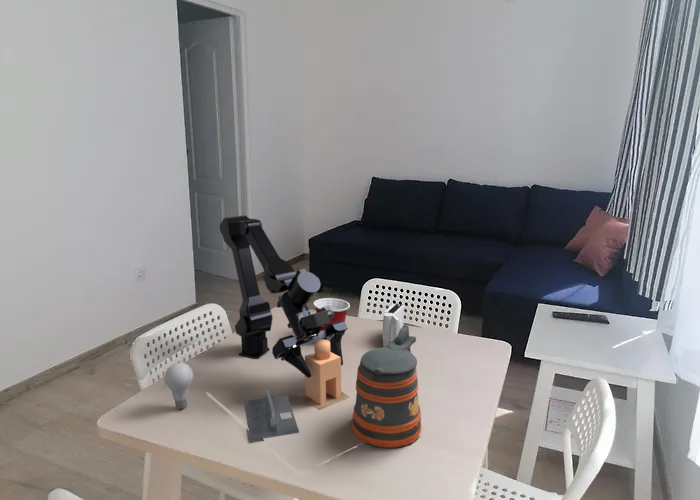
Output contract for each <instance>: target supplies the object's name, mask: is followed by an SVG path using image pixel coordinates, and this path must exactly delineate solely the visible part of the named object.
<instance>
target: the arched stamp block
mask: <svg viewBox="0 0 700 500" xmlns="http://www.w3.org/2000/svg"><path fill="white" fill-rule="evenodd" d="M304 360H305V362H306V364H307V366H308V368H309V370H310V373H311V377H310V378H308V377H307V376H305V375H304V379H305V382H304V384H305V391H306V395H307V396H308V397H310V398H311V399H313V400H314V401H315V402H317V403H318V404H320V405H322V404H325V403H326V392H327V393H328V394H330V395H331V396H333V397H335V398H336V399H337V398H339V397H341V392H342V366H341V357H339V356H337V355H336V354H334V353H332V352H330V341H328V340H322V339H321V340H317V341H314V352H313V353H310V354H307V355H304Z"/></svg>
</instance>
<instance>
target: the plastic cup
mask: <svg viewBox="0 0 700 500" xmlns="http://www.w3.org/2000/svg"><path fill="white" fill-rule="evenodd" d="M329 305H330V307H331V308H332V310H333V312H334V318H332V319H330V323H333V322H337V321H340V320H341V321H343V322H344V323H345V324H346V317H347V313H348V311H349V309H350V307H351V305H350V303H349V302H348V301H346V300H343V299H340V298H336V297H335V298H333V297H325V298H318V299H316V300H314V301H313V306H314V307H315V313H319V312H321V308H322V307H326V306H329ZM323 325H324V327H323V328H322V329H320V331H323V330H325V328H326V327H327V326H328V325H329V324H323ZM342 338H343V337H342ZM342 338H341V340H342ZM321 340H324V339H321Z"/></svg>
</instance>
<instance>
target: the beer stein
mask: <svg viewBox="0 0 700 500" xmlns="http://www.w3.org/2000/svg"><path fill="white" fill-rule="evenodd" d="M409 329H410V328H409V325H408V324H404V325H403V326H402V328H401V329H400V331H399V333H398V336H397V337H396V338H395V339H394V340H393V341H392V342H391V343H389V344H388V347H383V346H382V347H379V348H378V347H377V348H374V349H371V350H368V351H366V352H365V353H364V354H362V356H361V358H360V361H359V362H360V363H359V365H358V367H357V372H356V381H355V390H356V397H355V403H354V406H353V410H352V411H353V412H352V424H351V430H352V432H353V433H354V435H355V436H356V437H357V438H359V439H360V440H361V441H362V442H363V443H365V444H367V445H369V446H372V447H376V448H382V449H383V448H389V449H391V448H392V449H394V448H395V449H397V448H400V447H401V448H402V447H404V446H407V445H410V444H412V443H414V442H416V440H418V439H419V437H420V435H421V433H422V422H421V420H422V411H421V407H420V404H419V395H418V394H419V393H418V392H419V380H418V371H417V365H418V359H417V357H416V356H415V355H414V354H413V353H412V351H411V346H412V345H414V343H416V342H417V337H416V336H412V335H410V330H409Z"/></svg>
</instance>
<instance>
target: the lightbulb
mask: <svg viewBox="0 0 700 500" xmlns="http://www.w3.org/2000/svg"><path fill="white" fill-rule="evenodd" d="M193 378H194V373H193V370H192V368H191V366H189V365H188V364H186V363H184V362H175V363H173V364H171V365H170V366H169V367H168V368H167V369H166V370H165V373H164V382H165V384H166V386H167V387H168V389H169V390H170V391H171V394H172V397H173V400H174V404H175V408H176V409H179V410H183V409H185V408H186V407H187V405H188V395H189V389H190V386H191V384H192V383H193Z"/></svg>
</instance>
